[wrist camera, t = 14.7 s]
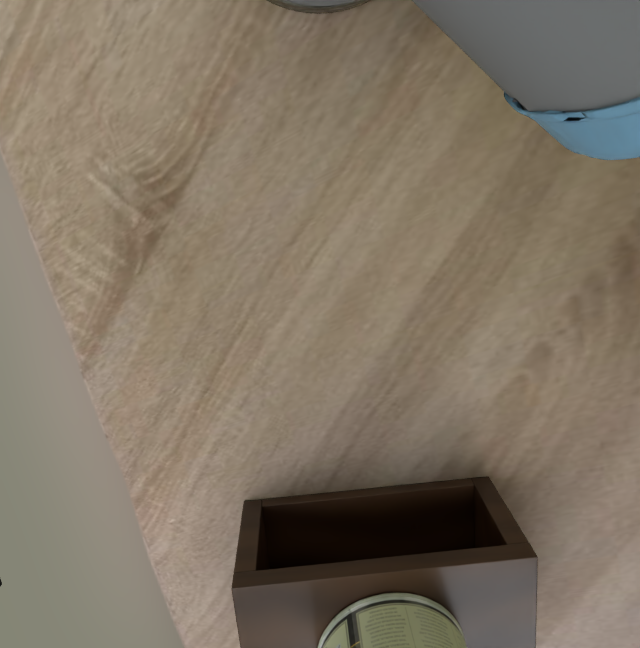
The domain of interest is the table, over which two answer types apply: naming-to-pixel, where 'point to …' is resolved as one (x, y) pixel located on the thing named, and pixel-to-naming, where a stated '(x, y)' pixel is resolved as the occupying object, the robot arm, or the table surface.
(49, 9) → the table surface
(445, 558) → the wooden keepsake box
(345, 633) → the coffee can
